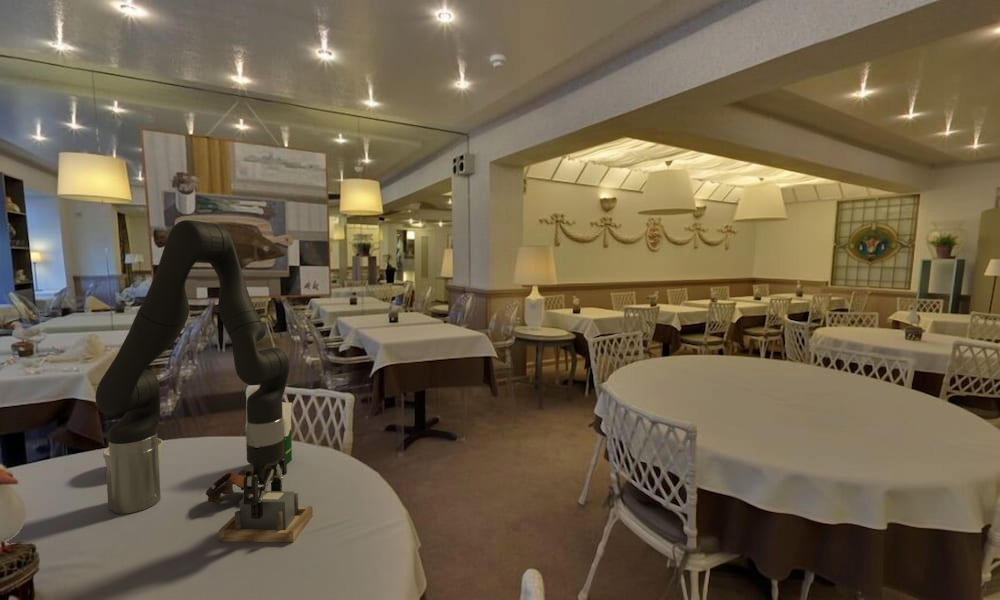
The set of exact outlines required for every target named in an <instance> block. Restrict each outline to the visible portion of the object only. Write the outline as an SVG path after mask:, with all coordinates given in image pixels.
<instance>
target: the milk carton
mask: <svg viewBox="0 0 1000 600" xmlns="http://www.w3.org/2000/svg"><path fill="white" fill-rule="evenodd" d="M292 404H293V403H292V402H284V401H282V416H283V423H284V451H286V463H287V465H288V464H289V463H290V462H291V461H292V460H293V456H292V455H293V454H292V453H293V449H292V447H293V445H292V444H293V443H292V408H293V406H292ZM280 469H282V466H280Z"/></svg>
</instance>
